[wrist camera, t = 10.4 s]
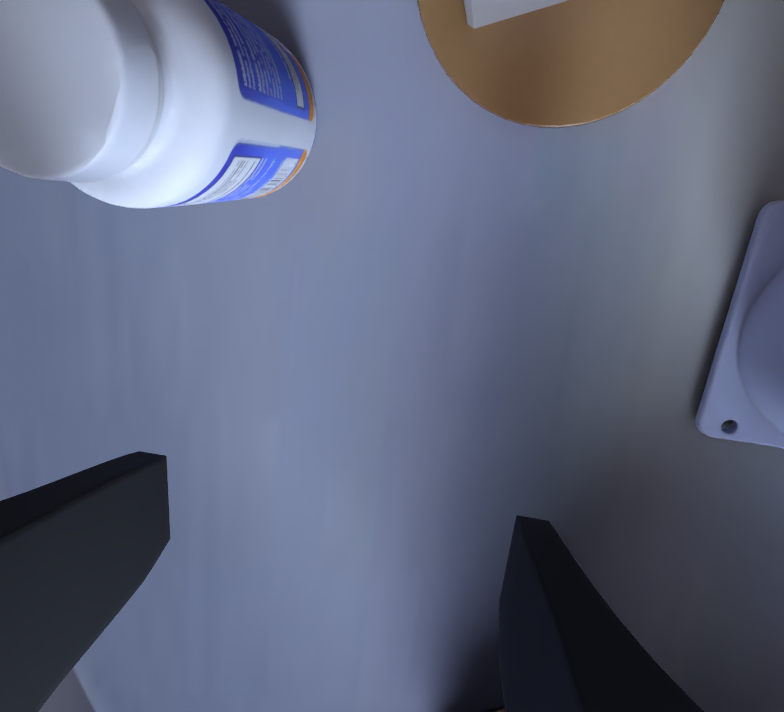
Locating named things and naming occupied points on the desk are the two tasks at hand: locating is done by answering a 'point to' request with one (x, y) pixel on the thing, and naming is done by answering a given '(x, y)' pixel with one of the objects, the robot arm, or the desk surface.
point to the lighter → (500, 9)
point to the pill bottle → (150, 101)
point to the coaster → (567, 55)
